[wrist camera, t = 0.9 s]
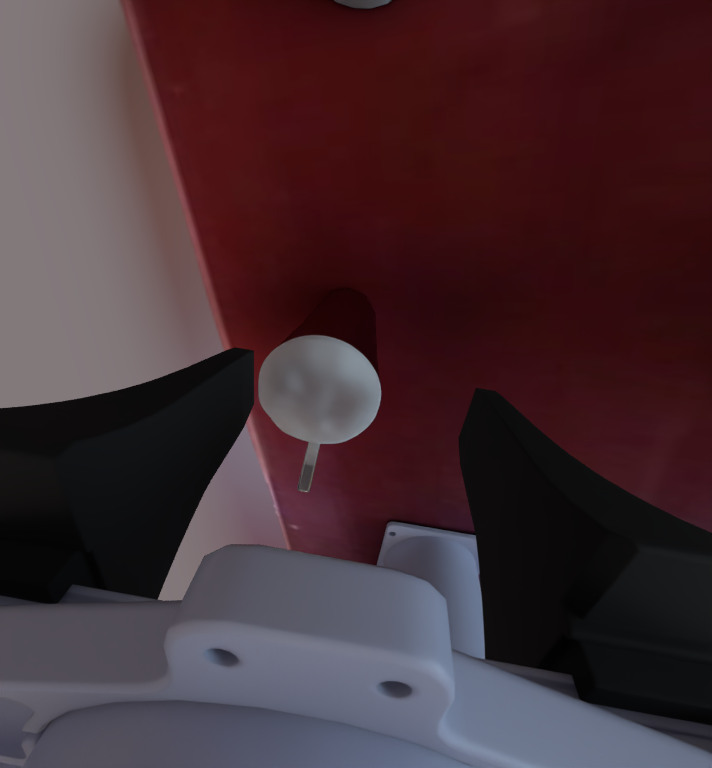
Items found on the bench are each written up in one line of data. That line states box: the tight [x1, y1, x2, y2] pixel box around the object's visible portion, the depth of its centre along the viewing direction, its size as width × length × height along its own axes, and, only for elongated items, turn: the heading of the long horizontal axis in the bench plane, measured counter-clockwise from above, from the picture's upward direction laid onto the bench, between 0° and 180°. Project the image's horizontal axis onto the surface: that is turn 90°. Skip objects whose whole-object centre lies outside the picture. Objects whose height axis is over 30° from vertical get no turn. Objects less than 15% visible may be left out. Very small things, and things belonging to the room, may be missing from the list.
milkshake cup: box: [258, 288, 381, 492], centre depth 17 cm, size 5×5×10 cm
